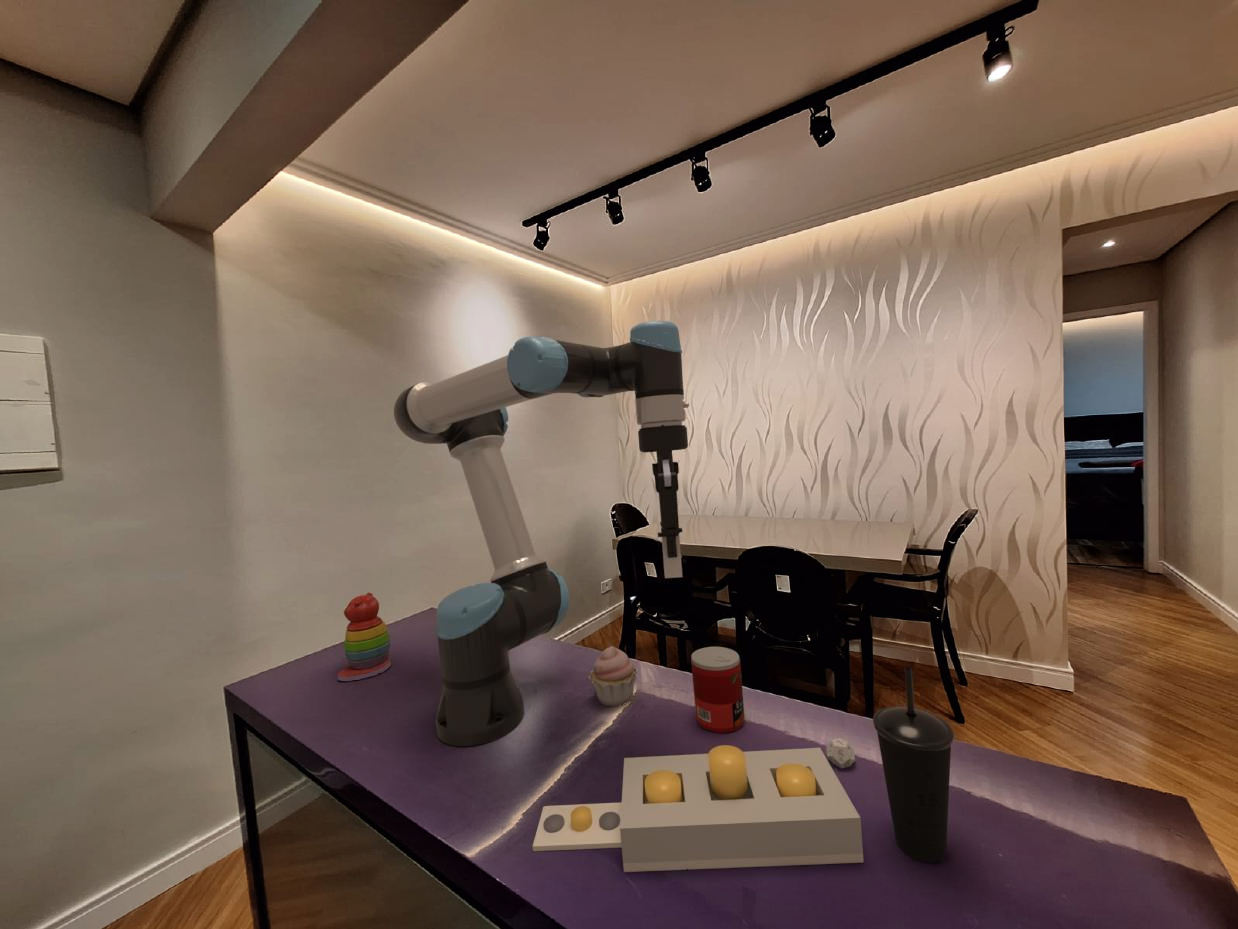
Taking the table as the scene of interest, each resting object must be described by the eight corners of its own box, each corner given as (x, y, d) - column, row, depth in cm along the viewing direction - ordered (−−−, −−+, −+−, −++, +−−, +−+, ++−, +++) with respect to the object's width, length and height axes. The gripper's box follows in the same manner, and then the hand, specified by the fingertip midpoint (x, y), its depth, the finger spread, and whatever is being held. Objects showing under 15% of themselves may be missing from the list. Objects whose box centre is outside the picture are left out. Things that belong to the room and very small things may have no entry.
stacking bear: (364, 660, 119) (356, 589, 118) (402, 659, 118) (394, 587, 117) (332, 682, 108) (323, 604, 108) (374, 681, 107) (365, 602, 106)
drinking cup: (866, 823, 57) (855, 657, 57) (927, 813, 58) (916, 649, 57) (910, 880, 50) (898, 690, 49) (980, 868, 50) (968, 680, 50)
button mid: (713, 803, 57) (710, 769, 57) (708, 777, 61) (706, 746, 61) (751, 801, 57) (748, 767, 56) (743, 775, 61) (741, 744, 61)
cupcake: (630, 715, 85) (625, 659, 84) (582, 709, 88) (577, 655, 88) (647, 688, 93) (643, 637, 93) (603, 683, 97) (598, 634, 97)
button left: (647, 828, 57) (644, 796, 57) (647, 801, 62) (644, 771, 62) (684, 827, 57) (682, 794, 57) (681, 799, 62) (679, 769, 61)
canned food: (746, 735, 76) (740, 666, 76) (695, 733, 78) (689, 666, 78) (743, 708, 84) (738, 646, 83) (697, 707, 85) (691, 646, 85)
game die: (839, 775, 66) (837, 753, 66) (821, 758, 70) (820, 738, 69) (861, 768, 67) (859, 747, 67) (843, 752, 70) (841, 732, 70)
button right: (784, 822, 57) (782, 789, 56) (774, 795, 61) (772, 764, 61) (823, 820, 56) (820, 787, 56) (810, 793, 61) (807, 762, 60)
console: (623, 872, 54) (619, 828, 54) (627, 794, 66) (624, 758, 66) (863, 862, 52) (860, 817, 52) (822, 784, 64) (820, 747, 64)
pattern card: (533, 851, 58) (531, 836, 58) (544, 810, 64) (542, 797, 64) (625, 847, 57) (623, 832, 57) (627, 806, 63) (625, 793, 63)
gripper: (690, 421, 68) (702, 587, 69) (683, 424, 81) (693, 564, 82) (636, 426, 68) (649, 590, 70) (638, 428, 81) (649, 566, 83)
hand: (673, 576), depth 76 cm, fingers closed
